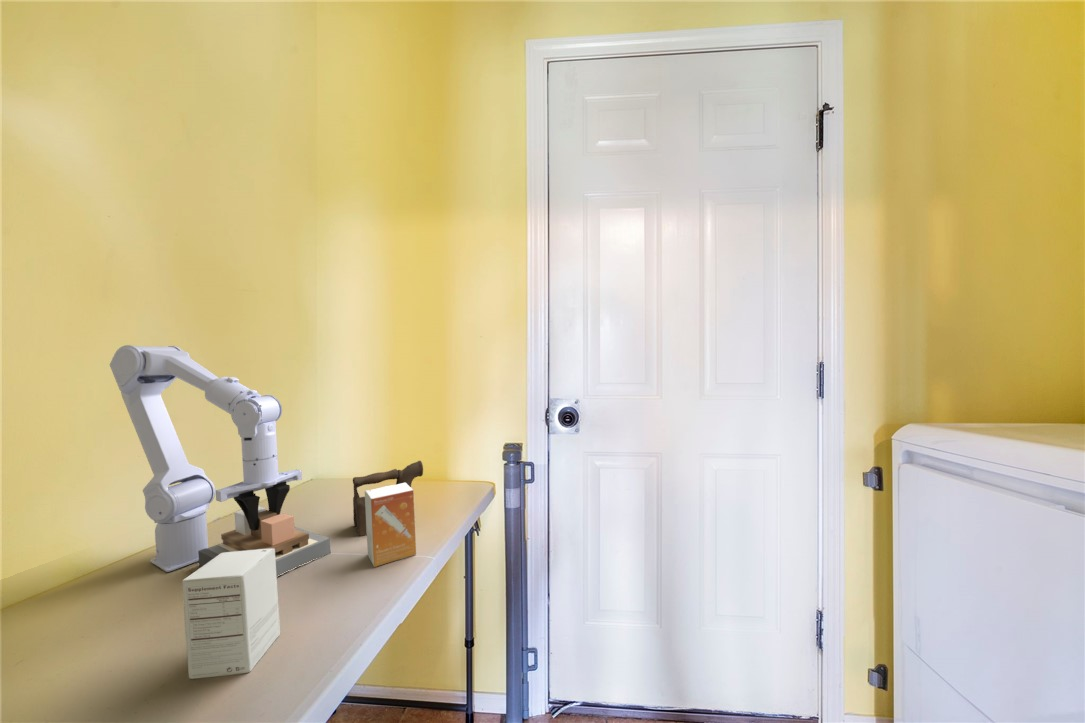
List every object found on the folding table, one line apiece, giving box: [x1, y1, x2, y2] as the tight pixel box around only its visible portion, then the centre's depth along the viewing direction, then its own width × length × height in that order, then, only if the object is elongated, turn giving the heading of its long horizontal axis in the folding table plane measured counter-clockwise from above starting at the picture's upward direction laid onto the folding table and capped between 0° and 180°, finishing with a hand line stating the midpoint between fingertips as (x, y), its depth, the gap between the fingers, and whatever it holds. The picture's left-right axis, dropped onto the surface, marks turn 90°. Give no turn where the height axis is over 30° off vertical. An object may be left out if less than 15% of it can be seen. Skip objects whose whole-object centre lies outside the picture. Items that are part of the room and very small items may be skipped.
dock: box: [198, 526, 331, 576], centre depth 80 cm, size 19×15×3 cm
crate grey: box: [234, 505, 267, 535], centre depth 83 cm, size 4×4×4 cm
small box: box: [364, 483, 417, 568], centre depth 80 cm, size 8×6×13 cm
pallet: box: [220, 509, 309, 555], centre depth 80 cm, size 17×8×6 cm, turn 59°
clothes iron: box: [352, 460, 424, 537], centre depth 96 cm, size 8×16×13 cm, turn 121°
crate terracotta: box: [261, 513, 296, 546], centre depth 78 cm, size 4×4×4 cm
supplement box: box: [181, 549, 281, 680], centre depth 54 cm, size 7×7×13 cm
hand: (264, 525), depth 80 cm, fingers closed on pallet, 3 cm apart
